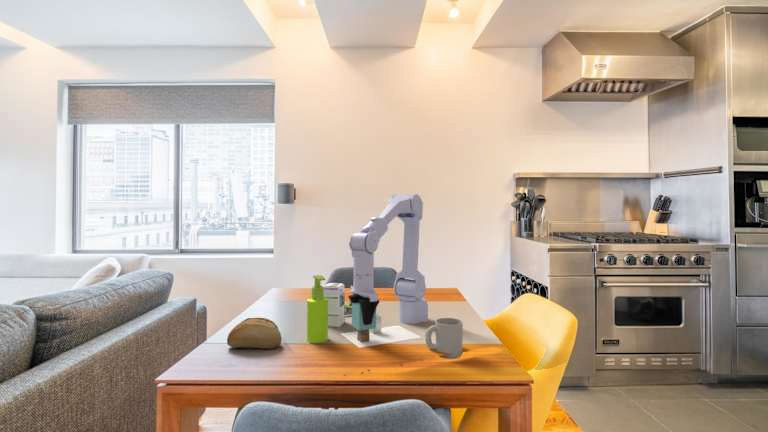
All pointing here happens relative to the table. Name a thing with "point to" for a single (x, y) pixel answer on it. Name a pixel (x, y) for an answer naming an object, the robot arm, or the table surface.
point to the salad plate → (348, 310)
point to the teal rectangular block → (361, 318)
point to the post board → (382, 336)
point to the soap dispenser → (317, 314)
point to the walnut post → (363, 335)
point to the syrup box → (335, 303)
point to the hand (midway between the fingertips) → (363, 321)
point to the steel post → (377, 325)
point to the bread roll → (255, 334)
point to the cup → (446, 337)
